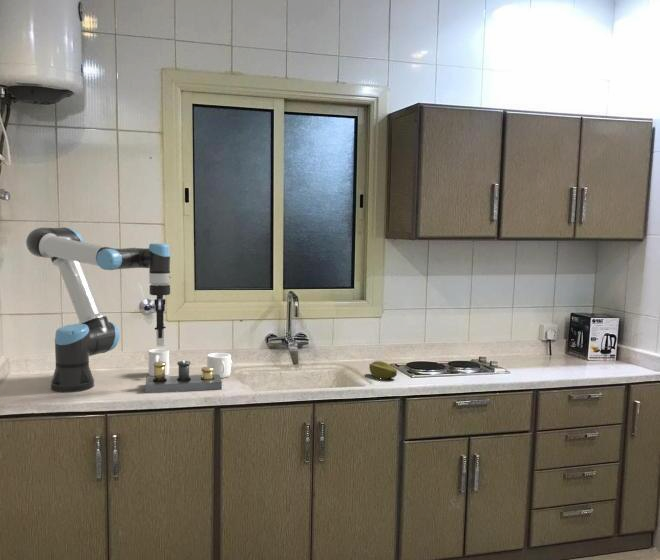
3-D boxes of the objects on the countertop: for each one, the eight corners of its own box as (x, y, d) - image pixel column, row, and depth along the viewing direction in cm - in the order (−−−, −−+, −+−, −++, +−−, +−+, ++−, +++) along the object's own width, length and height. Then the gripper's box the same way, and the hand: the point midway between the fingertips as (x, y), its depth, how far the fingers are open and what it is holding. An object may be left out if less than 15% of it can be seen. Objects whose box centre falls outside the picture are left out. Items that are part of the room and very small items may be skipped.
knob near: (152, 382, 226) (152, 364, 225) (153, 379, 230) (153, 361, 230) (166, 381, 227) (166, 364, 226) (166, 378, 231) (166, 361, 231)
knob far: (201, 387, 230) (201, 369, 230) (200, 384, 235) (201, 367, 234) (214, 386, 232) (214, 369, 231) (213, 383, 236) (213, 366, 236)
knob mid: (177, 381, 228) (177, 362, 227) (177, 378, 233) (177, 360, 232) (190, 380, 229) (190, 362, 229) (190, 377, 234) (190, 359, 233)
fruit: (369, 380, 248) (370, 364, 248) (368, 373, 260) (369, 358, 260) (397, 381, 248) (397, 365, 247) (395, 374, 260) (395, 359, 259)
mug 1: (165, 379, 242) (165, 354, 241) (144, 379, 241) (144, 354, 241) (170, 372, 254) (170, 348, 253) (150, 372, 253) (150, 348, 252)
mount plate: (145, 392, 222) (145, 384, 221) (146, 384, 233) (146, 377, 233) (221, 389, 229) (221, 381, 229) (219, 381, 240) (219, 374, 240)
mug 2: (236, 379, 245) (237, 357, 245) (212, 381, 241) (212, 359, 240) (228, 372, 256) (228, 351, 255) (204, 374, 251) (204, 353, 251)
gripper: (170, 285, 220) (170, 348, 222) (170, 282, 233) (170, 342, 235) (148, 285, 218) (149, 349, 220) (150, 282, 231) (150, 343, 233)
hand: (160, 345), depth 227 cm, fingers closed
